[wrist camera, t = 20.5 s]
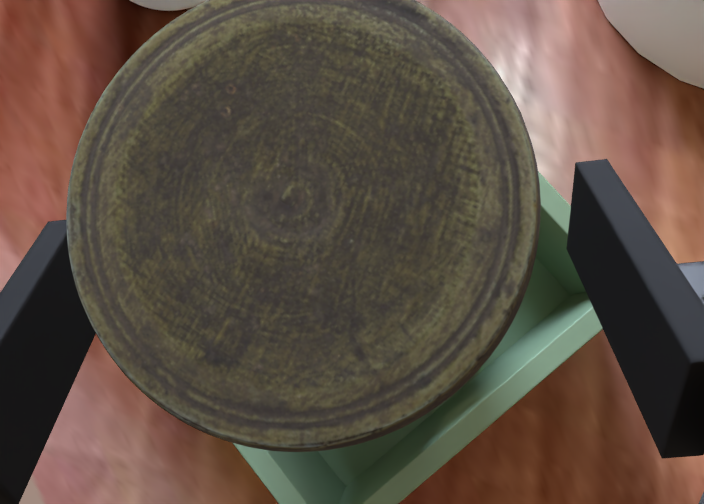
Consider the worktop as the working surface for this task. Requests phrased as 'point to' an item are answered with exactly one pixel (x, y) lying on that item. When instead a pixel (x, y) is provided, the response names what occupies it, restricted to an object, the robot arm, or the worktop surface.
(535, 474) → the worktop surface
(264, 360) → the container
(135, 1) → the jar
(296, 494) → the tub
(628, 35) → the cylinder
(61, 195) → the worktop surface
